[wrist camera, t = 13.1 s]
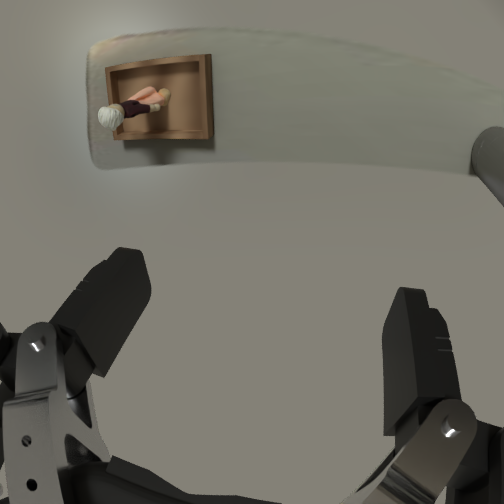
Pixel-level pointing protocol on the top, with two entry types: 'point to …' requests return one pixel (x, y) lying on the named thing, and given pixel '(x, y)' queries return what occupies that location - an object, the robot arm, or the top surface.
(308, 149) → the top surface
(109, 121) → the grandmother figurine
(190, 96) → the walnut tray
